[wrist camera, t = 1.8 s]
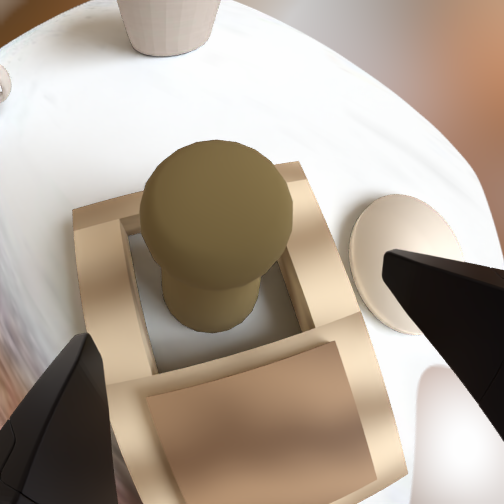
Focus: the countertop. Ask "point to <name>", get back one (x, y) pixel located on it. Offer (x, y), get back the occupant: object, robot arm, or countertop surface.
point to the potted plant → (168, 24)
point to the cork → (215, 230)
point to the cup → (4, 84)
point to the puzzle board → (243, 380)
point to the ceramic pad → (395, 237)
